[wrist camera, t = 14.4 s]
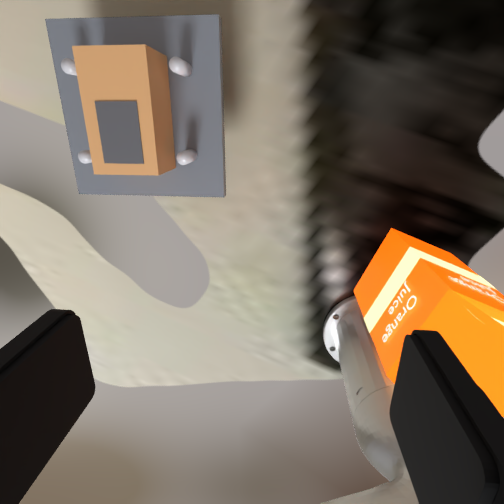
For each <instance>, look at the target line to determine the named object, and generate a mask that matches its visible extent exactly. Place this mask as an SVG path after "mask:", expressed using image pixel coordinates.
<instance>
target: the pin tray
mask: <svg viewBox="0 0 504 504" xmlns="http://www.w3.org/2000/svg"><path fill="white" fill-rule="evenodd" d="M45 21H46V26H47V31H48V36H49V42H50V47H51V52H52V57H53V62H54V67H55V73H56V78H57V83H58V88H59V93H60V98H61V103H62V109H63V114H64V119H65V124H66V129H67V134H68V139H69V145H70V150H71V155H72V160H73V165H74V170H75V176H76V180H77V186H78V191H79V194H105V195H148V196H150V195H151V196H191V197H225V196H226V176H225V140H224V103H223V67H222V30H221V17H220V16H219V14H216V15H178V16H140V17H103V18H65V19H45ZM142 44H145V45H147V46H149V47H151V48H153V49H155V50H156V51H158V52H160V53H162V54H164V55H166V56H167V64H168V76H169V88H170V101H171V113H172V125H173V137H174V150H175V162H176V168H175V169H173V170H170V171H168V172H166V173H163V174H161V175H159V176H156V175H99V174H94V171H93V165H92V159H91V154H90V148H89V142H88V136H87V131H86V125H85V119H84V113H83V107H82V102H81V96H80V90H79V84H78V79H77V73H76V67H75V61H74V55H73V50H72V46H89V45H142Z"/></svg>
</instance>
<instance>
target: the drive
mask: <svg viewBox="0 0 504 504" xmlns="http://www.w3.org/2000/svg"><path fill="white" fill-rule="evenodd" d="M72 50H73V55H74V61H75V67H76V73H77V79H78V84H79V90H80V96H81V102H82V107H83V113H84V119H85V125H86V131H87V136H88V142H89V148H90V154H91V159H92V165H93V171H94V174H99V175H156V176H159V175H161V174H163V173H166V172H168V171H170V170H173V169H175V168H176V162H175V150H174V137H173V125H172V113H171V101H170V88H169V76H168V64H167V56H166V55H164V54H162V53H160V52H158V51H156V50H155V49H153V48H151V47H149V46H147V45H145V44H142V45H89V46H72Z"/></svg>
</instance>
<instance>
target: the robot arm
mask: <svg viewBox="0 0 504 504" xmlns="http://www.w3.org/2000/svg"><path fill="white" fill-rule="evenodd" d="M335 314H336V315H335ZM323 338H324V343H325V346H326V348H327V350H328V352H329V353H330V355H331V356H332V357H333V358H334V359H335V360H337V361H338V362H340V366H341V371H342V375H343V380H344V384H345V388H346V393H347V398H348V402H349V407H350V411H351V416H352V420H353V425H354V429H355V433H356V437H357V440H358V443H359V445H360V447H361V450H362V452H363V453H364V455H365V456H366V458H367V459H368V460H369V462H370V463H371V464H372V465H373V466H374V467H375V468H376V469H377V470H378V471H379V472H380V473H381V474H382V475H383V476H385V477H386V478H387V479H388V480H389V481H390V482H387V483H384V484H382V485H378V486H376V487H375V488H372V489H368V490H365V491H362V492H358V493H355V494H351V495H348V496H344V497H341V498H337V499H334V500H330V501H328V502H324V503H321V504H504V418H503V417H502V415H501V414H500V413H499V411H498V410H497V409H496V407H495V406H494V404H493V403H492V402H491V400H490V399H489V398H488V396H487V395H486V393H485V392H484V391H483V390H482V389H481V388H480V387H479V386H478V385H477V384H476V383H475V381H474V380H473V378H472V377H471V376H470V374H469V373H468V371H467V370H466V369H465V367H464V366H463V365H462V363H461V362H460V360H459V359H458V358H457V356H456V355H455V354H454V352H453V351H452V349H451V348H450V347H449V345H448V344H447V342H446V341H445V340H444V338H443V337H442V336H441V334H440V333H439V332H438V331H434V330H416V329H415V330H413V331H412V333H411V335H409V334H407V335H406V336H405V338H404V342H403V347H402V351H401V356H400V361H399V366H398V371H397V375H396V380H395V384H394V383H393V382H392V381H391V380H390V379H389V378H388V377H387V375H386V372H385V370H384V367H383V365H382V362H381V360H380V357H379V355H378V352H377V349H376V347H375V344H374V342H373V339H372V337H371V334H370V333H369V331H368V328H367V326H366V323H365V321H364V317H363V314H362V311H361V309H360V306H359V304H358V301H357V299H356V296H352V297H349V298H347V299H345V300H343V301H342V302H340V303H338V304H337V305H336V306H335V307H334V308H333V309H332V310H331V311H330V313H329V314H328V315H327V317H326V320H325V322H324V326H323ZM94 392H95V383H94V378H93V374H92V369H91V365H90V360H89V356H88V351H87V347H86V342H85V338H84V334H83V329H82V325H81V320H80V318H79V317H78V316H77V315H75V313H74V312H73V311H71V310H60V309H51V310H49V311H47V312H46V313H45V314H44V315H42V316H41V317H40V318H39V319H38V320H36V321H35V322H34V323H32V324H31V325H30V326H29V327H27V328H26V329H25V330H24V331H22V332H21V333H20V334H19V335H17V336H16V337H15V338H14V339H12V340H11V341H10V342H9V343H7V344H6V345H5V346H4V347H2V348H1V349H0V504H19V502H20V501H21V499H22V498H23V497H24V495H25V494H26V492H27V491H28V490H29V488H30V487H31V485H32V484H33V482H34V481H35V480H36V478H37V476H38V475H39V474H40V472H41V471H42V470H43V468H44V467H45V465H46V464H47V462H48V461H49V459H50V458H51V457H52V455H53V454H54V452H55V451H56V449H57V448H58V447H59V445H60V444H61V442H62V441H63V439H64V438H65V437H66V435H67V434H68V432H69V431H70V429H71V428H72V426H73V425H74V423H75V422H76V421H77V419H78V418H79V416H80V415H81V414H82V412H83V411H84V409H85V408H86V407H87V405H88V403H89V402H90V401H91V399H92V398H93V395H94Z"/></svg>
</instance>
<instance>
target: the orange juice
mask: <svg viewBox="0 0 504 504" xmlns="http://www.w3.org/2000/svg"><path fill="white" fill-rule="evenodd" d="M353 291H354V294H355V296H356V299H357V301H358V304H359V306H360V309H361V311H362V314H363V317H364V321H365V323H366V326H367V328H368V331H369V333H370V334H371V337H372V339H373V342H374V344H375V347H376V349H377V352H378V355H379V357H380V360H381V362H382V365H383V367H384V370H385V372H386V375H387V377H388V378H389V379H390V380H391V381H392V382H393V383H394V384H395V380H396V375H397V371H398V366H399V361H400V356H401V351H402V347H403V342H404V338H405V336H406V335H407V334H409V335H411V333H412V331H413V330H415V329H416V330H434V331H438V332H439V333H440V334H441V336H442V337H443V338H444V340H445V341H446V342H447V344H448V345H449V347H450V348H451V349H452V351H453V352H454V354H455V355H456V356H457V358H458V359H459V360H460V362H461V363H462V365H463V366H464V367H465V369H466V370H467V371H468V373H469V374H470V376H471V377H472V378H473V380H474V381H475V383H476V384H477V385H478V386H479V387H480V388H481V389H482V390H483V391H484V392H485V393H486V395H487V396H488V398H489V399H490V400H491V402H492V403H493V404H494V406H495V407H496V409H497V410H498V411H499V413H500V414H501V415H502V417H504V296H503V295H502V294H501V293H500V292H499V291H497V290H496V288H495V287H493V286H492V285H491V284H490V283H488V282H487V281H486V280H485V279H483V278H482V277H481V276H479V275H477V274H476V273H475V272H474V271H472V270H471V269H470V268H469V267H468V266H466V265H465V264H464V263H463V262H461V261H460V260H459V259H458V258H456V257H455V256H454V255H453V254H451V253H449V252H447V251H444V250H442V249H440V248H437V247H435V246H433V245H430V244H428V243H426V242H423V241H421V240H419V239H416V238H414V237H412V236H409V235H407V234H404V233H402V232H400V231H397V230H395V229H393V228H391V229H390V231H389V232H388V234H387V236H386V237H385V239H384V241H383V242H382V244H381V246H380V247H379V249H378V251H377V252H376V254H375V256H374V257H373V259H372V261H371V262H370V264H369V266H368V267H367V269H366V270H365V272H364V274H363V275H362V277H361V279H360V280H359V282H358V284H357V285H356V287H355V289H354V290H353Z"/></svg>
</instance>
